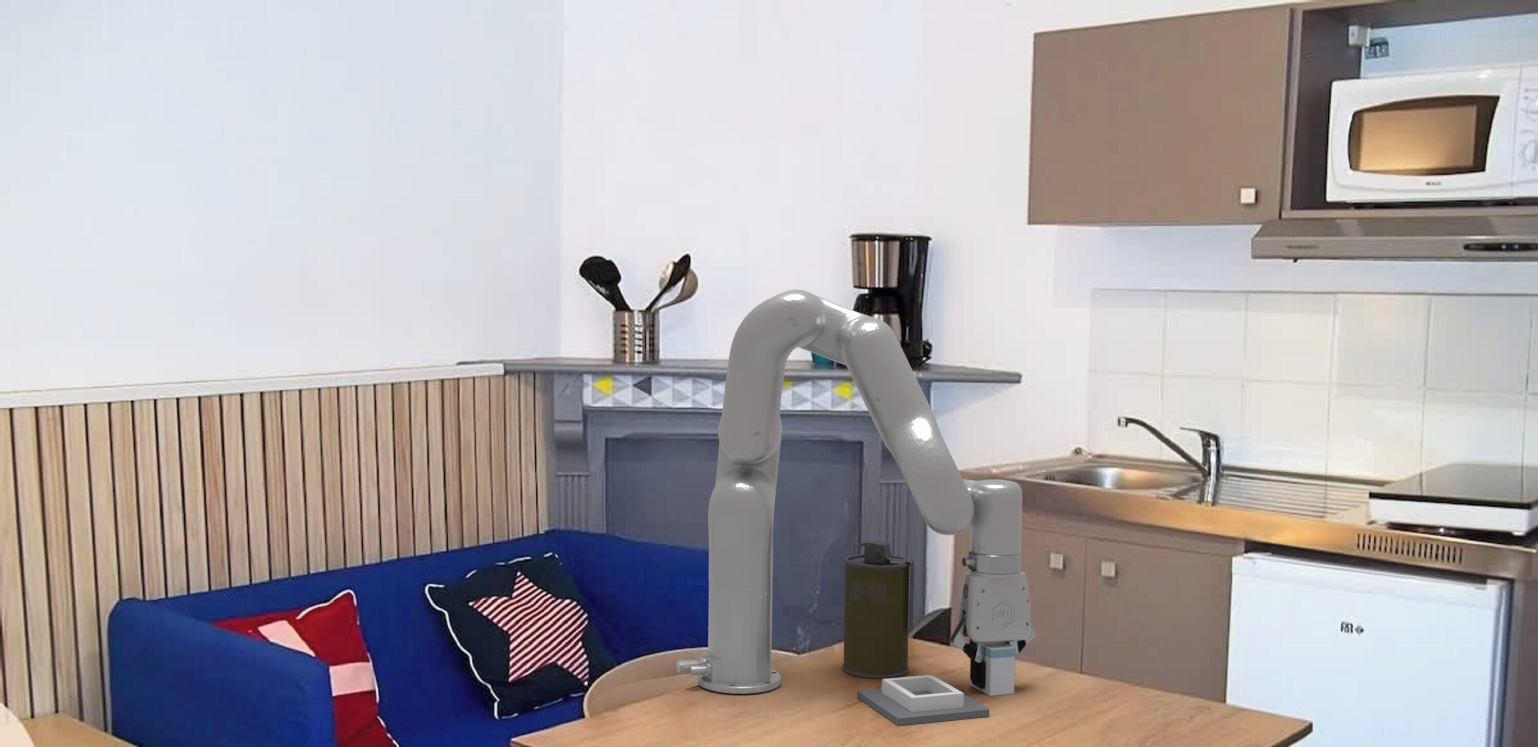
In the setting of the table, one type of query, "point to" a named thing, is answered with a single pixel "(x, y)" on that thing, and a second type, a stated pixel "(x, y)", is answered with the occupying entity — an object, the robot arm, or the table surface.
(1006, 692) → the plug
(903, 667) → the canister
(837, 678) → the table surface
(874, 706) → the grey square socket base
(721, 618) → the robot arm
